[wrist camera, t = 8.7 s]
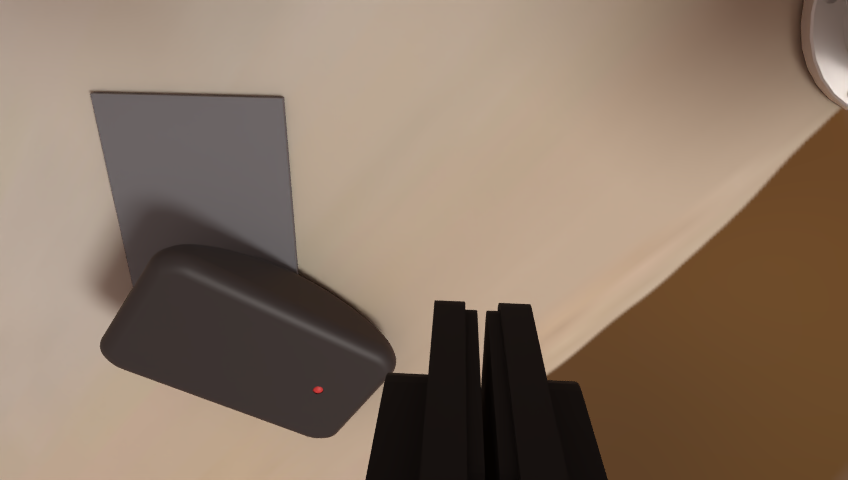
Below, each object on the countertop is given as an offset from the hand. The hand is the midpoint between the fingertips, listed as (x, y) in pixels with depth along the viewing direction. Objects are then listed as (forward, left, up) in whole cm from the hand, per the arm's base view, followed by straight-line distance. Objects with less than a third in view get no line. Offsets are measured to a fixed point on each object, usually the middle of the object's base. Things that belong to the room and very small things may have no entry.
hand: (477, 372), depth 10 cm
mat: (+15, +8, -24) cm, 29 cm away
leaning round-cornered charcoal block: (+9, +11, -20) cm, 24 cm away
